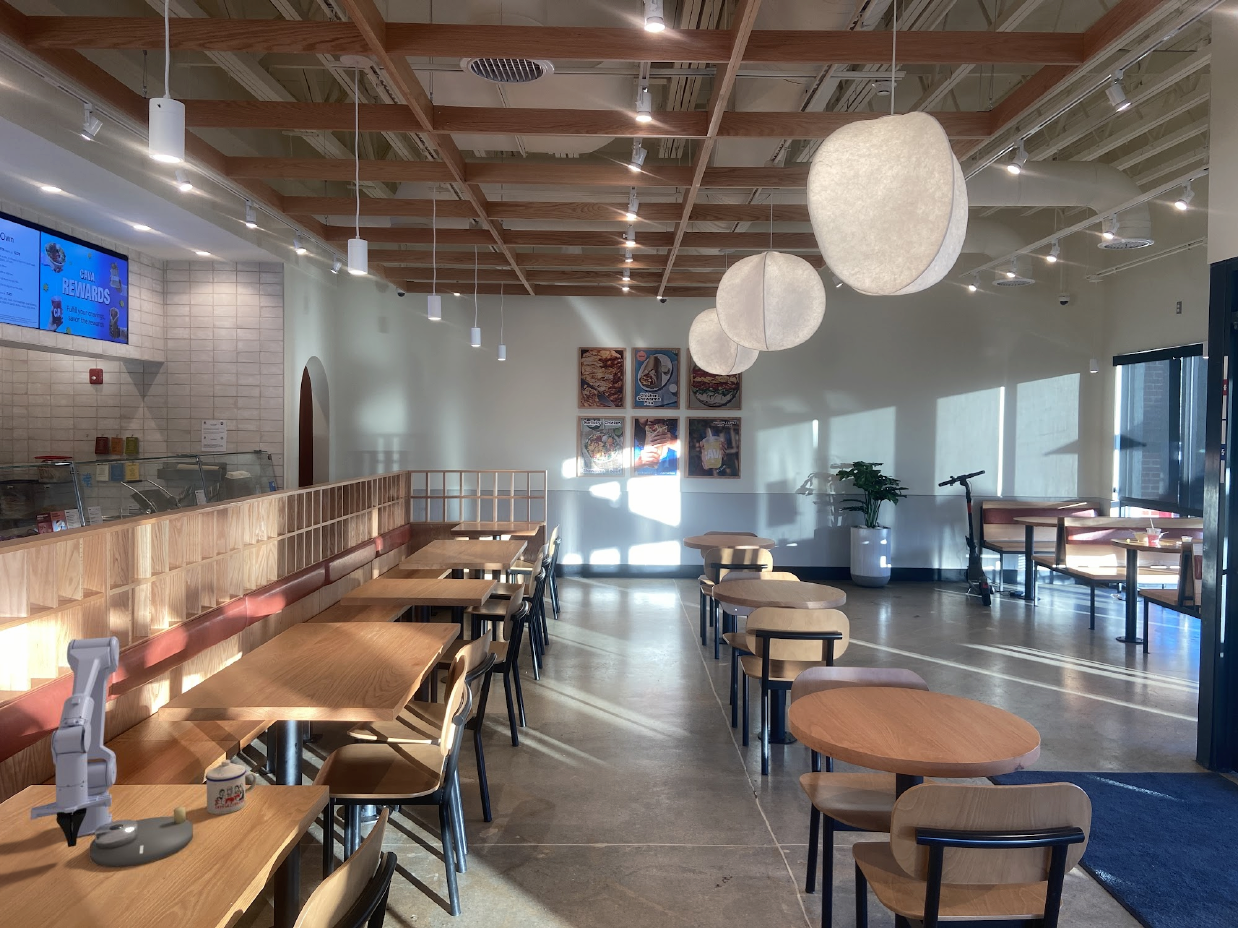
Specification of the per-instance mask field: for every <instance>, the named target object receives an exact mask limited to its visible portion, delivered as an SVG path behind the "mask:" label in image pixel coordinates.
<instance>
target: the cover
mask: <svg viewBox="0 0 1238 928" xmlns="http://www.w3.org/2000/svg"><path fill="white" fill-rule="evenodd" d="M94 839H95V847H96V848H98V849H115V848H119V847H123V846H126V845H128V844H130V843H132V842H134V841H135V840H136V839H137V822H136V820H134V819H119V820H114V821H111V822H109V823H106V824H104V825H102V826H100V827H98V828H97V829H96V830H95V833H94Z"/></svg>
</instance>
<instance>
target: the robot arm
mask: <svg viewBox="0 0 1238 928" xmlns="http://www.w3.org/2000/svg"><path fill="white" fill-rule="evenodd" d="M119 658H120V642H119V638H117V637H116V636H110V637H108V636H107V637H96V638H95V637H94V638H81V639H75V638H73V639H72V638H71V640H70V641H69V642H68V645H67V650H66V659H67V664H68V665H69V667H70V669H71V671H72V672H73V674H74V675H73V684H72V691H71V695H70V696H69V697H68V698H66V699H65V700H64V703H63V708H62V712H61V716H60V720H59V724H58V728H57V730H54V731H53V732H52V735H51V741H50V742H51V743H50V744H51V745H50V749H51V754H52V762H53V763H52V764H53V765H55V801H54V802H53V801H52V802H50V803H47V804H42V805H39V806H33V807H31V809H30V821H31V820H37V819H38V818H43V817H49V816H54V815H56V823H57V824H58V826H59V827H60V828H61V831H62V832H63V834H64V836H65V839H66V843H67V848H72V847H76V846H77V843H78V842H77V839H78V837H83V836H89V835H95V830H96V829H97V828H98V827H100V826H102V825H104V824H106V823H109V822H112V819H113V818H112V817H113V814H112V813H110V812H109V811H110V810H109V808H110V807H111V806H112V804H113V803H112V802H113V801H112V794H110V793H109V788H112V786H113V785H114V784H115V782H116V778H117V762H116V761H117V759H116V758H117V756H116V754H115V752H114V751H113V750H111V749H110V748H108V747H106V746H104V738H105V737H104V736H105V735H104V734H105V722H106V721H105V719H106V707H107V706H106V704H107V692H108V691H107V689H108V681H109V679H110V675H111V674H113V673H115V672H117V671H118V667H119ZM103 759H104V760H103ZM93 760H96V761H93ZM109 813H110V814H109Z"/></svg>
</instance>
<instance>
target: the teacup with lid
mask: <svg viewBox="0 0 1238 928" xmlns="http://www.w3.org/2000/svg"><path fill="white" fill-rule="evenodd" d="M249 776H252V778H253V780H252V783H251V784H250V786H249V787H248V788H246V777H249ZM205 780H206V811H207V812H208V813H209V814H211V815H227V814H232V813H235V812H237V811H240V810H241V809H242V808H243V809H244V807H245V805H246V794H247V793H250V792H252V791H253V790H254V789H255V787H256V786H257V782H258V776H257V774H256V773H254V772H252V771H247V769H246V767H245V766H244V765H242V764H235V763H232V762H231V760H230V759H224V760H222V761H221V764H219V765H217V766H216V767H213V768H211V769H210V770H208V771H207V772H206V775H205Z"/></svg>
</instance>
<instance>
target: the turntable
mask: <svg viewBox="0 0 1238 928" xmlns="http://www.w3.org/2000/svg"><path fill="white" fill-rule="evenodd" d="M135 821H136V822H137V839H136V840H135V841H134V842H132V843H130V844H128V845H126V846H123V847H119V848H115V849H98V848H96V847H95V838H94V839H93V840H92V841H91V842H90V844H89V859H90V861H91V862H92V863H93V864H95V865H97V866H100V867H106V868H107V867H108V868H109V867H110V868H111V867H112V868H117V867H118V868H120V867H121V868H122V867H132V866H138V865H144V864H149V863H151V862H155V861H158V860H161V859H163V858H164V859H165V858H167V857H169V856H172V855H174V854H175V853H177V852H179V851H180V850H182V849H184V848H185V847H187V846H188V845H189V844H190V843H191V841H192V839H193V837H194V825H193V823H192V822H191V821H190V820H188V819H186V806H177V807H175V808H174V809H173V816H157V817H156V816H155V817H148V818H142V819H137V820H135Z"/></svg>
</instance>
